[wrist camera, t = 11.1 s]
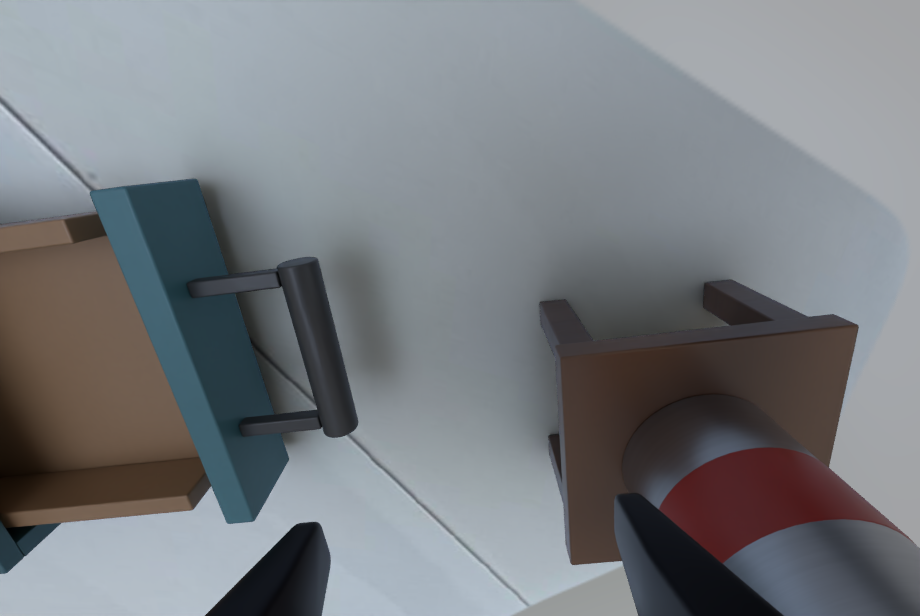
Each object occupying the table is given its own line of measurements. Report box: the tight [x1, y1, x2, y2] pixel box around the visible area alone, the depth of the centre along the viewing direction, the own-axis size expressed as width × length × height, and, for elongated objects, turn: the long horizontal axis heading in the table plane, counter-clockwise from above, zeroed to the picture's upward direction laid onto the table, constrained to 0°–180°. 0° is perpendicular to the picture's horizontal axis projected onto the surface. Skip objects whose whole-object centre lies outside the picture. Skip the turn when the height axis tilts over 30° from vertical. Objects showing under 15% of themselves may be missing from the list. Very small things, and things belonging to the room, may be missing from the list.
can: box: [622, 394, 920, 616], centre depth 11 cm, size 5×5×7 cm
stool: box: [539, 280, 859, 565], centre depth 17 cm, size 9×9×6 cm
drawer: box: [0, 179, 358, 528], centre depth 17 cm, size 19×13×4 cm
